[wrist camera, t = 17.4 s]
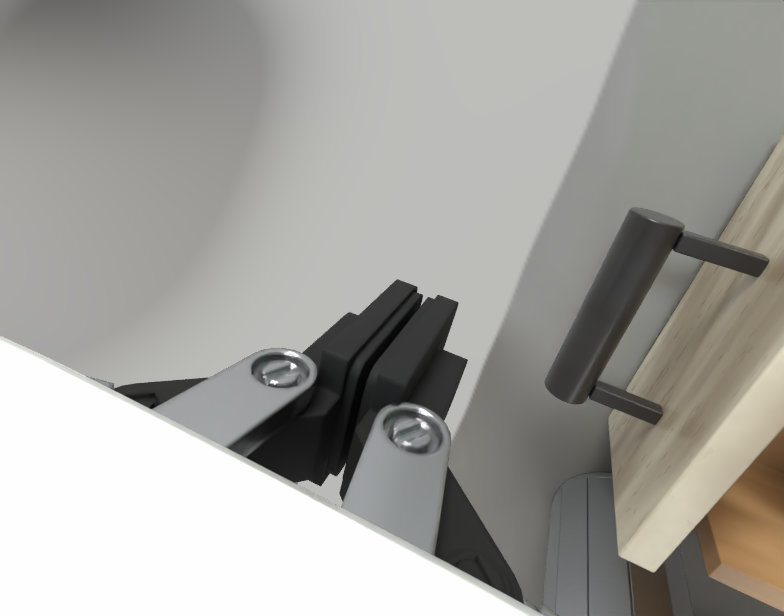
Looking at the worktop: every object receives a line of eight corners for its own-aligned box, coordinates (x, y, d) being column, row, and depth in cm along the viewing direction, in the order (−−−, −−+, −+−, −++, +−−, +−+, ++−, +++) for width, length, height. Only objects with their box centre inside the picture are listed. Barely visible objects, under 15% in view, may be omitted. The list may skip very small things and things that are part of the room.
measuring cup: (537, 522, 27) (518, 688, 19) (578, 454, 24) (575, 618, 16) (638, 571, 25) (661, 771, 18) (695, 505, 23) (751, 709, 15)
